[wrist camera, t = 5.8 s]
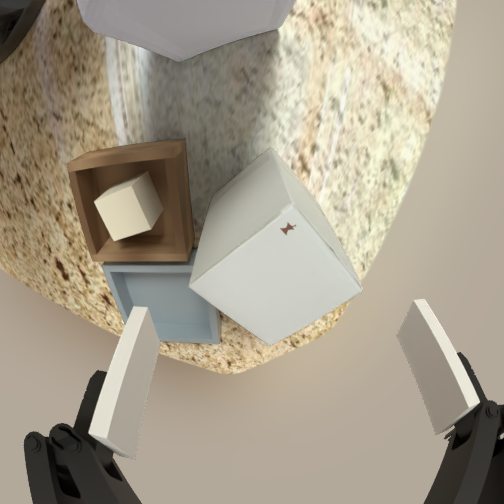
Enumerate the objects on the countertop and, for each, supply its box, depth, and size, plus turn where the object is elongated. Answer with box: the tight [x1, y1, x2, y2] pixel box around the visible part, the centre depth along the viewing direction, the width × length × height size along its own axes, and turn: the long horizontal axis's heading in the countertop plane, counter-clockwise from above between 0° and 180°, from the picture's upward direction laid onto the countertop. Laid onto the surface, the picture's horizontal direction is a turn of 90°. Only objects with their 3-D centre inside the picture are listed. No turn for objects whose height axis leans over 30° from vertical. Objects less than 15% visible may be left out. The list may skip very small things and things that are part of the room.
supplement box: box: [189, 147, 363, 346], centre depth 20 cm, size 7×7×13 cm
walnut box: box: [67, 139, 195, 261], centre depth 23 cm, size 10×10×4 cm
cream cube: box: [94, 171, 164, 241], centre depth 22 cm, size 4×4×4 cm
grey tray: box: [102, 249, 221, 344], centre depth 29 cm, size 12×12×3 cm
